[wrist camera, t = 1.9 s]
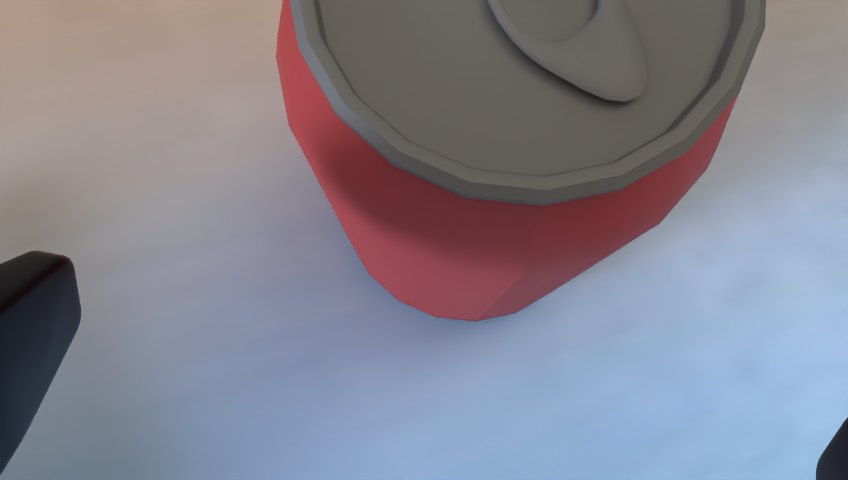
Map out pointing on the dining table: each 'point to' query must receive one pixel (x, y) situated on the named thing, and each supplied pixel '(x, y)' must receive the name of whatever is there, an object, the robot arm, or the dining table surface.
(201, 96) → the dining table surface
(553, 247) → the beer can
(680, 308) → the dining table surface
